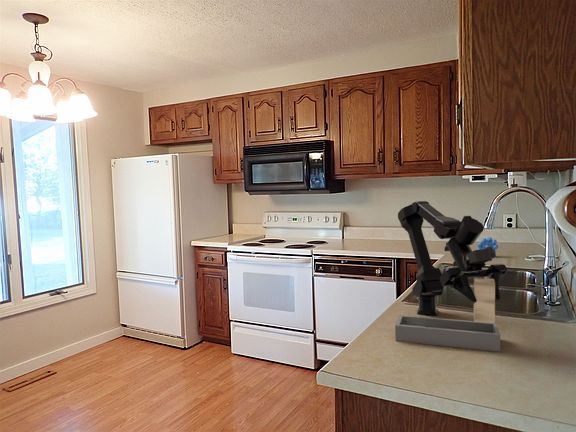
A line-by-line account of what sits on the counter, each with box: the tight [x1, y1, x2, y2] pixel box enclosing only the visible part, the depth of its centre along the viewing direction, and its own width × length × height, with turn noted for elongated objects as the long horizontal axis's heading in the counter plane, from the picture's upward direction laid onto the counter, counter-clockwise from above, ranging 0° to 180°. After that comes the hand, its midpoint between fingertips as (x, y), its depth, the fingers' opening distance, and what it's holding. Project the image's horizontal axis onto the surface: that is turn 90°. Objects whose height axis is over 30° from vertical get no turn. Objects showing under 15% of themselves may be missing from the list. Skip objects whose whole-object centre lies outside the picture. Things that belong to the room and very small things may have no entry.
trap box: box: [394, 314, 501, 353], centre depth 119 cm, size 10×27×4 cm, turn 68°
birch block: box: [473, 277, 496, 323], centre depth 115 cm, size 5×5×11 cm
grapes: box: [476, 236, 499, 254], centre depth 247 cm, size 12×7×12 cm, turn 57°
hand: (487, 300), depth 113 cm, fingers closed on birch block, 7 cm apart
